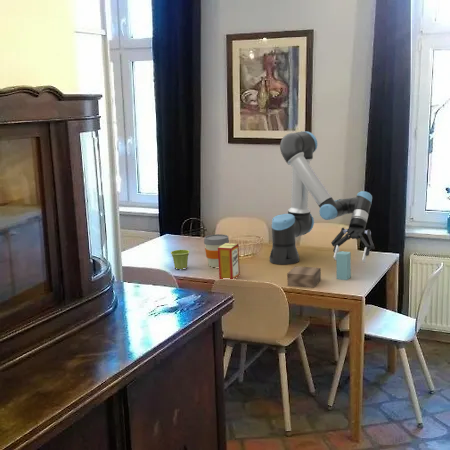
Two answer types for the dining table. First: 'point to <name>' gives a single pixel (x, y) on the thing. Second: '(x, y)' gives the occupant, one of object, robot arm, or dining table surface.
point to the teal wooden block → (343, 265)
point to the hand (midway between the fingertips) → (349, 260)
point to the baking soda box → (228, 260)
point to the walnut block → (304, 276)
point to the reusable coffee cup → (214, 247)
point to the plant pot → (180, 258)
